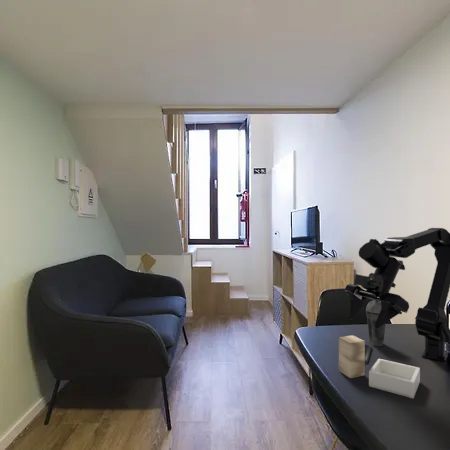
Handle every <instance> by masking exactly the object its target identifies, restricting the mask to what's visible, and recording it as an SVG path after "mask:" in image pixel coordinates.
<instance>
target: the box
mask: <svg viewBox="0 0 450 450" xmlns="http://www.w3.org/2000/svg"><path fill="white" fill-rule="evenodd" d="M420 383H421V367H417V366H413V365H409V364H404V363H401V362H396V361H391V360H387V359H382V358H378V359H377V360H376V361H375V363H374V364H373V365H372V367H371V368H370V370H369V371H368V387H369V388H370V387H371V388H374V389H377V390H381V391H384V392H388V393H392V394H396V395H398V396H403V397H406V398H410V399H413V400H414V398H415V396H416V393H417V391H418V388H419V386H420Z"/></svg>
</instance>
